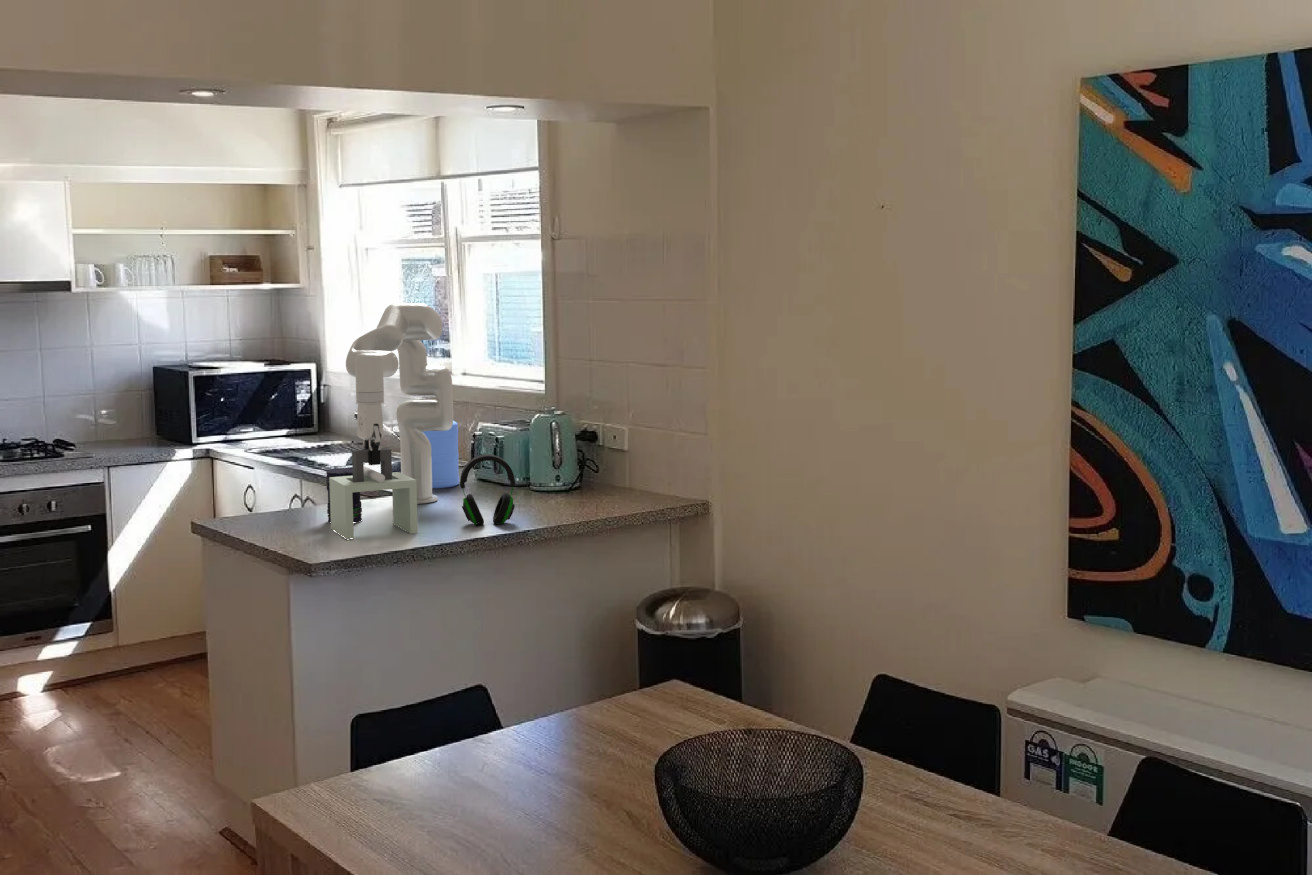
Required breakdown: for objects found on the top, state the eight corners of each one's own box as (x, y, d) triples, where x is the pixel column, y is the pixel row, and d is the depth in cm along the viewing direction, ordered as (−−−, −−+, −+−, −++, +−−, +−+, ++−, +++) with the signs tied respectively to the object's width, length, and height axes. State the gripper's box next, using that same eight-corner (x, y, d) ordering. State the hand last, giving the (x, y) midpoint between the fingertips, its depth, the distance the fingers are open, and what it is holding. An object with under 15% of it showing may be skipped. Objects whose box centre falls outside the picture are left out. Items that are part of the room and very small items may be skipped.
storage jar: (324, 519, 409) (323, 469, 407) (358, 517, 413) (356, 466, 411) (331, 525, 400) (329, 474, 398) (365, 522, 404) (363, 471, 402)
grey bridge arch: (353, 489, 389) (351, 450, 388) (388, 486, 394) (387, 447, 392) (357, 491, 385) (355, 451, 384) (392, 488, 390) (391, 449, 389)
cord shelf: (331, 530, 394) (328, 468, 391) (400, 523, 403) (398, 463, 400) (346, 540, 380) (344, 476, 377) (417, 533, 389) (416, 471, 386)
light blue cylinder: (468, 483, 471) (467, 401, 468) (437, 490, 458) (435, 405, 454) (433, 479, 480) (431, 398, 476) (402, 486, 466) (400, 402, 463)
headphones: (517, 526, 399) (516, 456, 396) (462, 528, 395) (460, 458, 393) (513, 520, 408) (512, 452, 405) (459, 522, 405) (458, 453, 402)
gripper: (348, 396, 392) (350, 460, 394) (365, 401, 377) (367, 468, 380) (374, 394, 395) (376, 458, 398) (392, 400, 381) (394, 466, 383)
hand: (372, 462), depth 389 cm, fingers closed on grey bridge arch, 4 cm apart
